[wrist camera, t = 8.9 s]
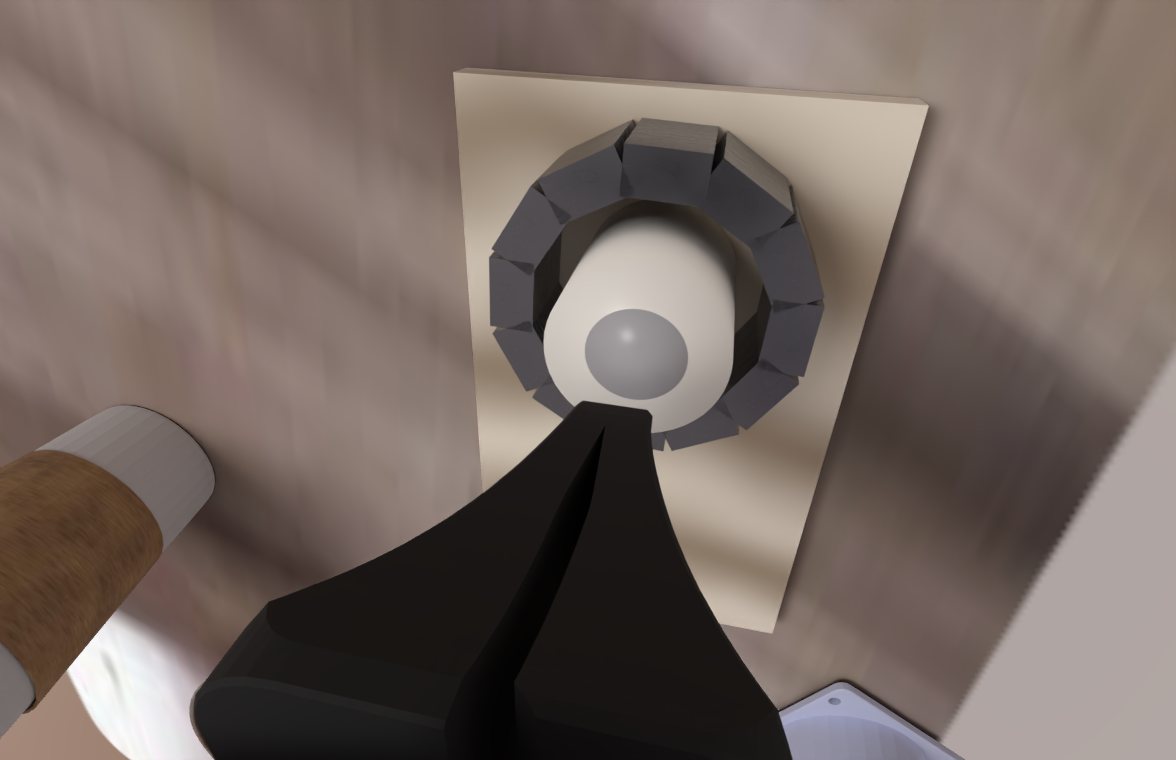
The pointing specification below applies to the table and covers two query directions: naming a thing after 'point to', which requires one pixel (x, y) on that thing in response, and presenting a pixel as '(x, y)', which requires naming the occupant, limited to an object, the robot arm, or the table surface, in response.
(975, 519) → the table surface
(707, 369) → the white cylinder
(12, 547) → the coffee cup
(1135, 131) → the table surface
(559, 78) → the mount plate
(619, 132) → the dark grey segmented ring
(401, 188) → the table surface
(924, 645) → the table surface
